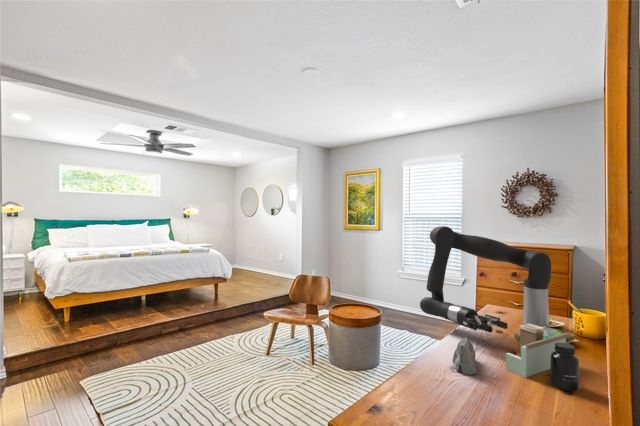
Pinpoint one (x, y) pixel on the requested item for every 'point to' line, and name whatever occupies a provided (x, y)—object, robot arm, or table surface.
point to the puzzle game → (550, 334)
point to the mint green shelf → (534, 356)
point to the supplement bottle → (564, 368)
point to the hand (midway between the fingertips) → (499, 328)
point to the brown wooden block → (530, 334)
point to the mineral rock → (465, 357)
